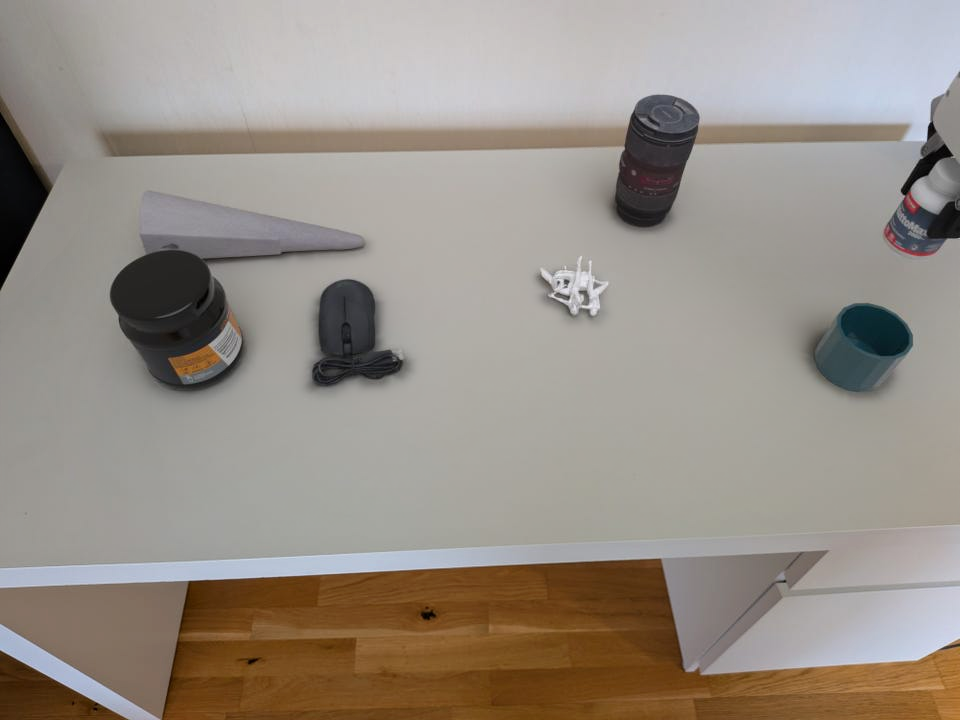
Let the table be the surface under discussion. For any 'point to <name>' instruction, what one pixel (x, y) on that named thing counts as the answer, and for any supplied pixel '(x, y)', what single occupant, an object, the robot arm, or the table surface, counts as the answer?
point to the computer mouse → (350, 334)
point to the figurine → (576, 287)
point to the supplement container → (177, 319)
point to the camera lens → (654, 158)
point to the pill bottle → (923, 211)
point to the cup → (863, 347)
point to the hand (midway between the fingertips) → (929, 213)
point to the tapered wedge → (228, 230)
